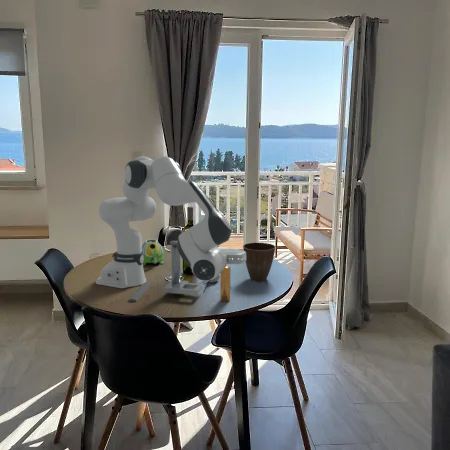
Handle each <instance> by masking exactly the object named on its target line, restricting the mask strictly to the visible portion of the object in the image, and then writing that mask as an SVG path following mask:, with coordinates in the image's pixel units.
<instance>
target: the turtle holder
mask: <svg viewBox="0 0 450 450" xmlns="http://www.w3.org/2000/svg"><path fill="white" fill-rule="evenodd" d="M163 248H164V247H162V245H161V244H160V243H159V241H158V239H146V240H145V241H144V243H142V251H143V266H146V265H147V263H149V264H151V263H152V264H157V263H158V264H159V265H163V264H164V261H163V260H164V258H165V256H164V254H165V253H164V249H163Z"/></svg>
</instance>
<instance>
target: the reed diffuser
mask: <svg viewBox="0 0 450 450" xmlns="http://www.w3.org/2000/svg"><path fill="white" fill-rule="evenodd" d="M220 276H221V274H219V275H218V276H217V277H216V278H214V279H212V280H210V281H201V282H200V283H199V284H203V285H205V284H206V283H207V284H206V286H205V287H204V289H203V290H204V291H203V293H202V294H204V293H205V291H206V289H207V286H208V284H209V283H216V282H217V281H220Z"/></svg>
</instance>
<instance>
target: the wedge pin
mask: <svg viewBox="0 0 450 450" xmlns="http://www.w3.org/2000/svg"><path fill="white" fill-rule="evenodd" d="M231 271H232V270H231V266H230V265H226V266H225V268H224V269H223V270H222V271H221V273H220V278H219V281H220V284H219V285H220V288H219V289H220V290H219V293H220V294H219V298H220V300H219V301H220V302H221V303H229V302H230V301H231Z"/></svg>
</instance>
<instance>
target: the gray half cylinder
mask: <svg viewBox="0 0 450 450" xmlns="http://www.w3.org/2000/svg"><path fill="white" fill-rule="evenodd" d="M149 288H150V285H149V283H147V282H145V283H144V284H141V285H139V288H138V289H136V291H135V292H134V293H133V294H132V296H131V297H130V298H129V299H128V300H127V302H139V300H140V299H141V298H142V296H144V294H145V293H146V292H147V291H148V289H149Z"/></svg>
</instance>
